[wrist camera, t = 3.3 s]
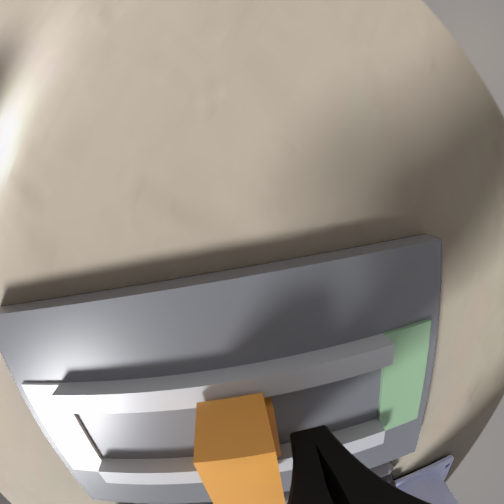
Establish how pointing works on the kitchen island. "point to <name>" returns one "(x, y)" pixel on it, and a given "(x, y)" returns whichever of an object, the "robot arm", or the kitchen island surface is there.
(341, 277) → the slider track board
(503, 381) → the kitchen island surface
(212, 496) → the orange slider block
